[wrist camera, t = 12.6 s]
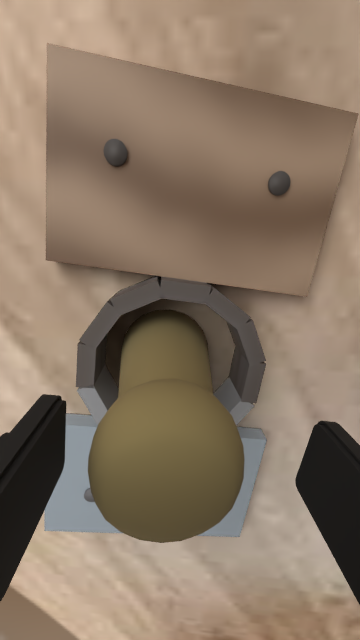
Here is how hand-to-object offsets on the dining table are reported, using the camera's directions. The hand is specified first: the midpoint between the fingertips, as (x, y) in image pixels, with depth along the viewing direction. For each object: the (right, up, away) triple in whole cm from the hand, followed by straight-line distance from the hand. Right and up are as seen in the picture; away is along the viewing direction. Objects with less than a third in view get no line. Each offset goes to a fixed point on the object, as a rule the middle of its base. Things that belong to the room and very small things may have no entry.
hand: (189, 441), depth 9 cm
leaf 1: (0, +9, +7) cm, 11 cm away
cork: (-1, +2, +8) cm, 9 cm away
